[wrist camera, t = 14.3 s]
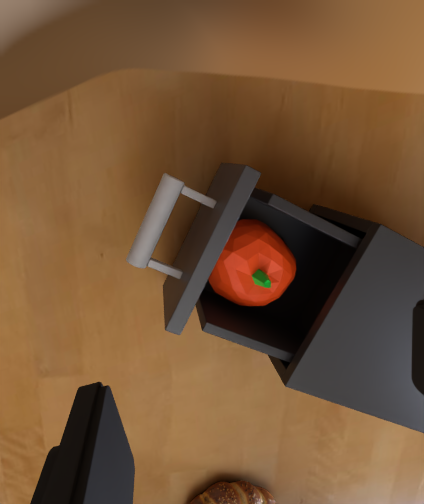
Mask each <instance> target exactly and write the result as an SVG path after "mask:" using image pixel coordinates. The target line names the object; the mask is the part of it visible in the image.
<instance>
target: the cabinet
mask: <svg viewBox="0 0 424 504" xmlns="http://www.w3.org/2000/svg"><path fill="white" fill-rule="evenodd" d="M309 212H310V213H312V214H314V215H316V216H318V217H320V218H322V219H324V220H326V221H328V222H330V223H332V224H334V225H335V226H337V227H339V228H341V229H343V230H345V231H347V232H349V233H351V234H353V235H355V236H357V237H359V238H361V239H363V240H362V242H361V244H360V245H359V247H358V249H357V250H356V252H355V254H354V255H353V257H352V259H351V261H350V262H349V264H348V266H347V267H346V269H345V271H344V273H343V274H342V276H341V278H340V279H339V281H338V283H337V284H336V286H335V288H334V290H333V291H332V293H331V295H330V296H329V298H328V300H327V302H326V303H325V305H324V307H323V308H322V310H321V312H320V313H319V315H318V317H317V319H316V320H315V322H314V324H313V325H312V327H311V329H310V330H309V332H308V334H307V336H306V337H305V339H304V341H303V342H302V344H301V346H300V348H299V349H298V351H297V353H296V354H295V356H294V358H293V359H292V361H291V363H290V362H287V361H284V360H282V359H279V358H276V357H273V356H271V355H268V356H269V358H270V360H271V362H272V363H273V365H274V367H275V369H276V371H277V372H278V374H279V376H280V378H281V380H282V382H283V383H284V385H285V386H286V387H289V388H292V389H294V390H297V391H300V392H303V393H306V394H309V395H312V396H315V397H318V398H321V399H324V400H327V401H330V402H333V403H336V404H339V405H342V406H345V407H348V408H351V409H354V410H357V411H360V412H363V413H366V414H369V415H372V416H375V417H378V418H381V419H384V420H387V421H390V422H393V423H396V424H399V425H402V426H404V427H407V428H410V429H413V430H416V431H419V432H422V433H424V395H423V394H421V393H420V392H419V391H418V390H417V389H416V387H415V386H414V384H413V382H412V378H411V370H412V315H413V308H414V307H415V306H416V303H417V302H418V301H419V300H423V299H424V247H422V246H420V245H419V244H417V243H415V242H413V241H411V240H409V239H407V238H406V237H404V236H402V235H400V234H398V233H396V232H394V231H393V230H391V229H389V228H387V227H385V226H383V225H382V224H379V223H375V222H372V221H369V220H365V219H362V218H359V217H355V216H352V215H349V214H346V213H342V212H339V211H336V210H332V209H329V208H326V207H323V206H319V205H316V204H313V206H312V208H311V209H310V211H309Z"/></svg>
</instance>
